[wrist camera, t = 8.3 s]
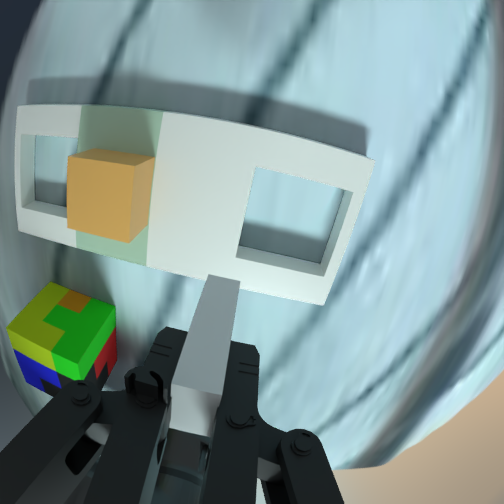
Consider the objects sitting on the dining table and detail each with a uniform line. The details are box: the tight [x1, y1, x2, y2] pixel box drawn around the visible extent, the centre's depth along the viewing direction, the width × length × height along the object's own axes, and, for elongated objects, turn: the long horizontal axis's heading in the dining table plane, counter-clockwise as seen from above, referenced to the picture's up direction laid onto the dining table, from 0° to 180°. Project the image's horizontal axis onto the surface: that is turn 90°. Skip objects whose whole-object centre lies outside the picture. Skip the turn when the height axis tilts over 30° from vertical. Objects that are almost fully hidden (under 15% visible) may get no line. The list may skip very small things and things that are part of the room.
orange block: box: [67, 148, 155, 243], centre depth 22 cm, size 6×6×4 cm
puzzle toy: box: [6, 281, 117, 397], centre depth 30 cm, size 10×10×10 cm
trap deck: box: [15, 104, 375, 306], centre depth 25 cm, size 14×34×2 cm, turn 78°
